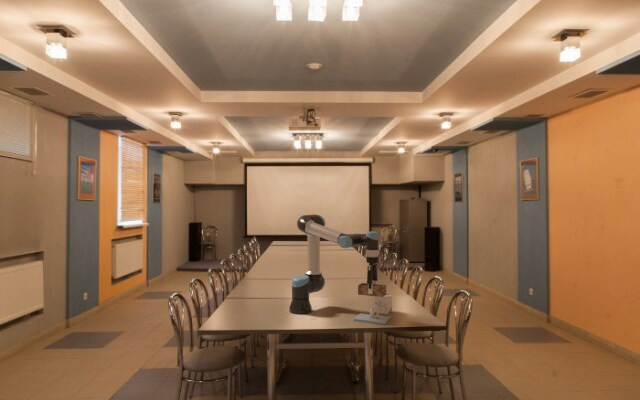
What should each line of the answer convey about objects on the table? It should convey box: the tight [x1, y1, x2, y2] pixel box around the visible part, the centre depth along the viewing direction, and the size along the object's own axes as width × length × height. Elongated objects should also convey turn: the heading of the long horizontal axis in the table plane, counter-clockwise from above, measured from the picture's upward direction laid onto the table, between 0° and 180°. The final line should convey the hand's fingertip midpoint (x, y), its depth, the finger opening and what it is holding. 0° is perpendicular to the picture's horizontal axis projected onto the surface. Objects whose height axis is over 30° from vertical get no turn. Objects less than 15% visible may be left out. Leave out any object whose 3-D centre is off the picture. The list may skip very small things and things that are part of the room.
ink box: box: [374, 291, 393, 315], centre depth 284 cm, size 9×8×13 cm
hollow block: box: [357, 282, 387, 297], centre depth 266 cm, size 16×8×6 cm, turn 67°
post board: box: [353, 307, 391, 325], centre depth 266 cm, size 20×14×7 cm
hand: (372, 292), depth 266 cm, fingers closed on hollow block, 8 cm apart
